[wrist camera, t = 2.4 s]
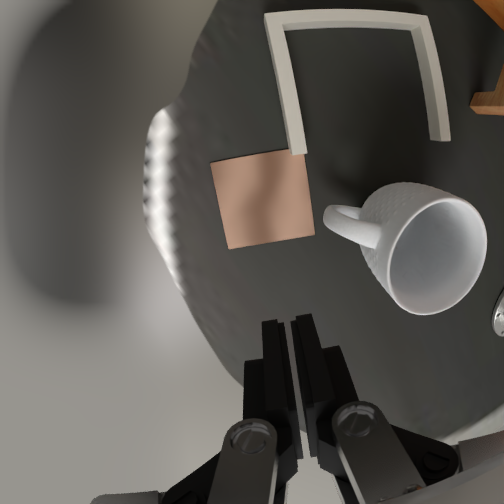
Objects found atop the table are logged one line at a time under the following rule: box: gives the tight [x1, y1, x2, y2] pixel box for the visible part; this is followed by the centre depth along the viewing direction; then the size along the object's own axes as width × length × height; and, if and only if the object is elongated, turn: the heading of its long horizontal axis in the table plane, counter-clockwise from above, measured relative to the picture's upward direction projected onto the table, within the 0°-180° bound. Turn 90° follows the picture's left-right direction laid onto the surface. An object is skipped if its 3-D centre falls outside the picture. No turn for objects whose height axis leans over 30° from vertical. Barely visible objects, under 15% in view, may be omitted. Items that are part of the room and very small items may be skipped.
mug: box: [323, 182, 487, 315], centre depth 29 cm, size 15×11×13 cm
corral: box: [264, 9, 451, 155], centre depth 28 cm, size 19×16×2 cm
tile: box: [210, 149, 315, 249], centre depth 34 cm, size 10×10×1 cm
